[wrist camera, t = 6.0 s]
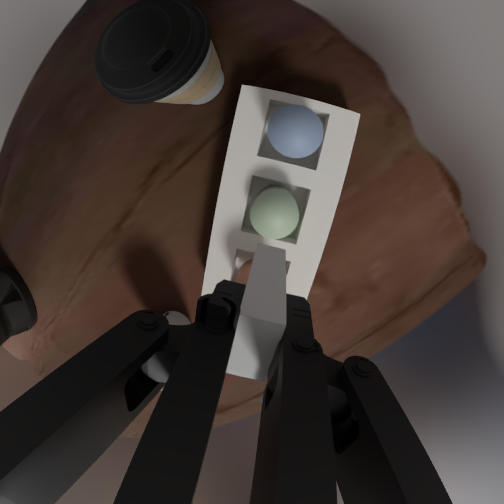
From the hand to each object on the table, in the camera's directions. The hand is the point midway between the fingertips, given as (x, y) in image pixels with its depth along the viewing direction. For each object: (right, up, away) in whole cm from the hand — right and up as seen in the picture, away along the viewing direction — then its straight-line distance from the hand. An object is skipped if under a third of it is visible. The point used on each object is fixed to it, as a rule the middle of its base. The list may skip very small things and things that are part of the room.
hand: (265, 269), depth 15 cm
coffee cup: (-7, +21, +13) cm, 25 cm away
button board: (+2, +7, +17) cm, 18 cm away
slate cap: (+3, +13, +11) cm, 17 cm away
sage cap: (+2, +6, +16) cm, 17 cm away
